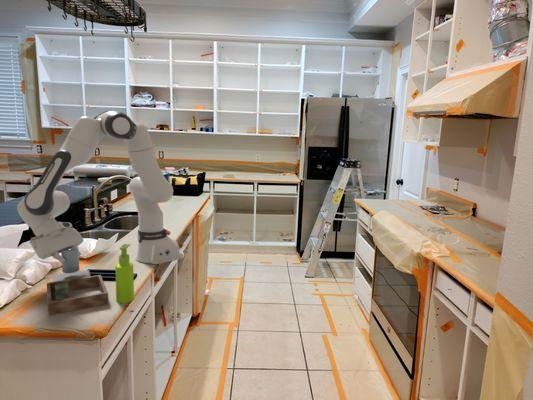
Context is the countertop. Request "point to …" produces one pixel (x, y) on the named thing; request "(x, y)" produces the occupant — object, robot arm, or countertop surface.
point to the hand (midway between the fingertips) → (71, 258)
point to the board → (71, 275)
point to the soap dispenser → (124, 277)
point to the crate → (77, 301)
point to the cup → (70, 259)
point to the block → (62, 291)
